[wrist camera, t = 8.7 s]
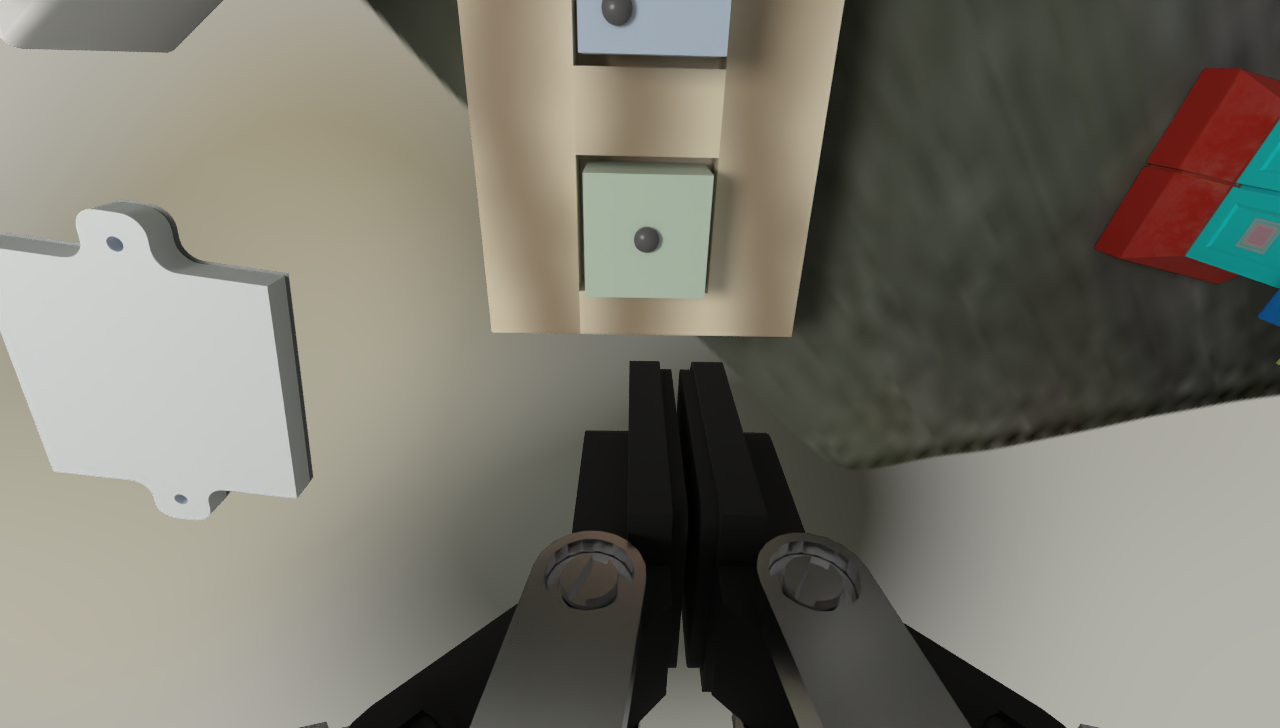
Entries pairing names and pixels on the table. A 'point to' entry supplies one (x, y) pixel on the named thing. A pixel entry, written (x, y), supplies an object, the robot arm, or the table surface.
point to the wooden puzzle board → (646, 159)
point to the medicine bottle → (101, 23)
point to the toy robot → (1210, 188)
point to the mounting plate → (156, 361)
